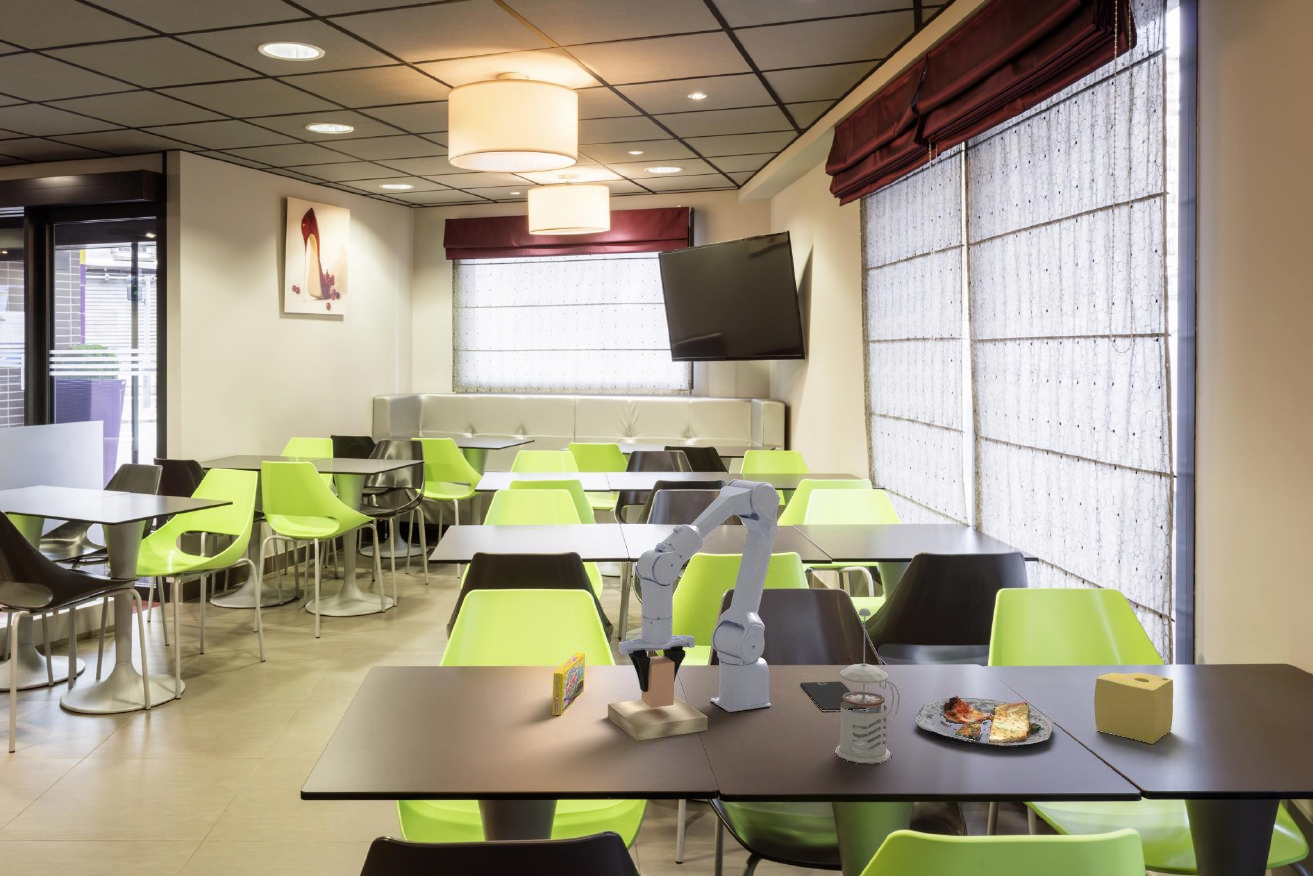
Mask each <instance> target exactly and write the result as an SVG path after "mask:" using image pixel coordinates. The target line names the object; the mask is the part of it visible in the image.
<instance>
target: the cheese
mask: <svg viewBox="0 0 1313 876" xmlns="http://www.w3.org/2000/svg"><path fill="white" fill-rule="evenodd" d="M1095 680H1096V681H1095V685H1094V686H1095V687H1094V696H1093V697H1094V700H1093V705H1094V706H1093V707H1094V719H1095V727H1096V731H1097V730H1098V731H1103V732H1106V733H1112V734H1114V735H1113V736H1115V735H1119V736H1124V737H1127V738H1131V739H1130V740H1132V739H1135V740H1134V741H1137V740H1138V742H1141V741H1142V743H1145V742H1146V744H1149V745H1153V744H1154V743H1155V744H1156V742H1158V741H1159V740H1161V739H1162V738H1163V737H1164V735H1165V736H1166V735H1168V734H1170V733H1171V732H1172V725H1173V716H1174V715H1173V714H1174V712H1173V711H1174V710H1173V709H1174V679H1172V678H1166V677H1164V676H1159V675H1156V674H1155V675H1154V674H1150V673H1144V672H1131V673H1119V672H1110V673H1106V674H1105V673H1104V674H1102V675H1099V676H1098V677H1097V678H1096V679H1095ZM1098 731H1097V732H1098ZM1170 731H1171V732H1170ZM1106 733H1105V734H1106ZM1167 733H1168V734H1167ZM1119 736H1118V737H1119ZM1162 736H1163V737H1162ZM1161 737H1162V738H1161ZM1127 738H1126V739H1127Z"/></svg>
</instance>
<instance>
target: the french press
mask: <svg viewBox="0 0 1313 876" xmlns="http://www.w3.org/2000/svg"><path fill="white" fill-rule="evenodd" d="M858 611H859V612H858V615H859V616H861V617H864V618H863V663H858V664H857V663H855V664H851V665H848V667H845V668H843V669H842V670H840V673H839V675H840V677H841V678H842V680H845V681H848V682H851V683H856V684H857V683H858V684H863V687H862V688H863V690H862V691H860V690H859V691H856V690H854V691H851V692H848V693H845V694H844V695H842V698H843V700H844V702H842V703H841V712H840V716H839V717H840V719H839V721H840V725H839V727H840V729H839V731H840V732H839V745H837V747H835V748H836V750H835V753H837V754H839V756H842V757H843V758H846V759H848V760H854V761H857V762H880V761H882V760H887V758H889V756H890V753H891V751H890V750H889V749H888V748H887V725H888V724H889V723H890V722H891V721H893V719H894V718H896V716H897V713H898V712H899V708H900V698H901V697H900V692H899V690H898V687H897V686H896V685H895V683H894V682H891V681H890V680H888V678H889V674H888V673H887V672H886V671H884V670H883V669H880V667H878V666H875V665H872V664H868V663H866V617H870V616H871V611H870V609H869V608H865V607H863V608H861V609H860V610H858ZM884 682H885V683H884ZM882 683H884V686H882ZM867 684H879V687H880V688H881V689H883V690H885V689H886V688H887V684H888V685H889V687H890V689H891V695H892V699H891V704H890V705H891V706H890V709H889V711H888V712H887V709H888V708H887V706H886V705H884V703H885V702H886V698H885V697H884V696H883V695H881V694H879V693H875V692H872V691H865V685H867ZM892 686H893V687H894V689H895V691H896V695H897V706H896V711H895V713H894V715H893V716H892V717H891V718H890V719H888V720H887V718H888V716H889V715H890V713H891V712H892V709H893V706H894V702H895V700H894V699H895V693H894V690H893V687H892ZM882 704H883V711H882ZM855 705H858V706H863V707H865V708H867V710H868V711H867V710H866V711H864V710H859V709H854V710H851V711H848V710H847V709H848V708H849V707H852V706H855ZM856 728H858V729H860V730H858V729H856ZM881 728H882V729H881ZM881 735H882V736H881ZM881 742H882V744H881Z"/></svg>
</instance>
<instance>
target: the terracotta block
mask: <svg viewBox="0 0 1313 876" xmlns="http://www.w3.org/2000/svg"><path fill="white" fill-rule="evenodd" d="M649 657H650V658H651V659H650V664H649V671H648V692H643V691H642V690H641V700H642V701H643V702H644V703H646V704H647V705H648V706H649V707H651V708H655V707H662V706H670V705H674V695H675V682H674V664H675V662H673V661H672V660H670V659H669V658H667V657H666V656H664V655H656V656H649Z"/></svg>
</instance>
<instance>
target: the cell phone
mask: <svg viewBox="0 0 1313 876" xmlns="http://www.w3.org/2000/svg"><path fill="white" fill-rule="evenodd" d="M799 685H801V686H802V687H803V688H804V689H805V690H806V692H807V693H808V694H809V695H810V696H811V697H812V699H813V700H814V701H815V702H816V703H817V704H818V706H819V707H820V708H821V709H822V710H841V703H842V702H844V700H843V698H842V695H844V694H845V693H848V692H852V691H851V690H850V689H849V688H848V687H847V686H846V684H844V683H843V682H842V681H839V680H838V681H810V682H809V681H808V682H806V681H805V682H800V683H799ZM801 686H800V687H801ZM802 687H801V688H802ZM803 688H802V689H803ZM804 689H803V690H804ZM805 690H804V691H805ZM806 692H805V693H806ZM807 693H806V694H807ZM808 694H807V695H808ZM809 695H808V696H809ZM810 696H809V697H810ZM812 699H811V700H812ZM813 700H812V701H813ZM814 701H813V702H814ZM815 702H814V703H815ZM816 703H815V704H816ZM818 706H817V707H818ZM819 707H818V708H819ZM820 708H819V709H820ZM821 709H820V710H821ZM853 709H866V708H865V707H863V706H858V705H855V706H852V707H849V708H848V710H853Z"/></svg>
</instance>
